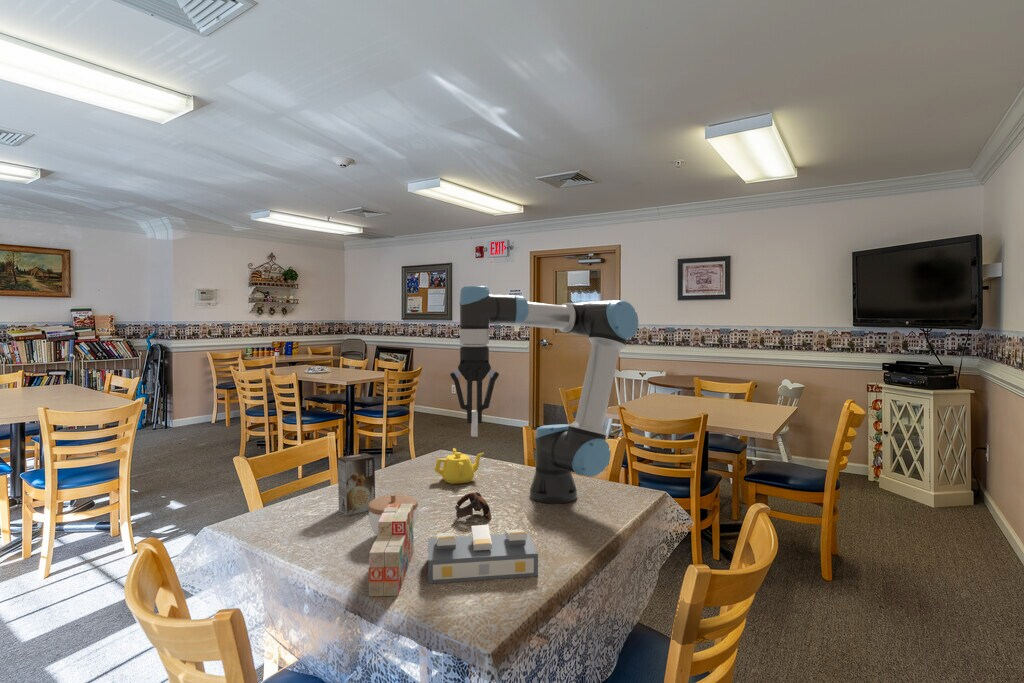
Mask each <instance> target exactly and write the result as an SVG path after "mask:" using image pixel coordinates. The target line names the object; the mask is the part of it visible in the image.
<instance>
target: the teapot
mask: <svg viewBox="0 0 1024 683" xmlns="http://www.w3.org/2000/svg"><path fill="white" fill-rule="evenodd" d="M484 454H485V452H480V453H478V454H477V455H476V457H475V462H474V463H472V461H471V459H470V457H469V455H467V454H464V453H463V454H462V452H460V451H457V448H455V447H454V448H452V454H448V455H447V456H446V457H445V458H437V459H436V462H435V466H434V471H435V472H436V473H437V474H439V475H440V476H441V477H442V479H443V481H444V482H445V483H446V484H447V483H448V484H456V485H458V484H467V483H471V482H472V481H473V479H474V477H475V473H476V472H477V471H478V470H479V466H480V459H481V456H483V455H484ZM441 463H443V465H442V468H441Z"/></svg>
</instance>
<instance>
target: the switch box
mask: <svg viewBox="0 0 1024 683" xmlns="http://www.w3.org/2000/svg"><path fill="white" fill-rule="evenodd" d="M526 533H527V540H514V541H509V540H508V539H507V538H506V537H505V533H500V534H499V533H497V534H490V536H491V542H492V550H475V551H474V548H473V540H472V535H465V536H464V535H463V536H455V538H456V545H444V546H437V537H429V538H427V565H428V566H427V584H442V583H454V582H467V581H482V580H497V579H513V578H526V577H527V578H528V577H538V576H539V553H538V551H537V548H536V546H535V544H534V543H533V542H534V541H533V540H532V537H531V535H530V533H529V532H526Z"/></svg>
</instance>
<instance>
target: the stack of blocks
mask: <svg viewBox="0 0 1024 683" xmlns="http://www.w3.org/2000/svg"><path fill="white" fill-rule="evenodd" d="M413 524H414V520H413V504H388V505H387V507H386V508H385V509H384V511H383V513H382V515H381V517H380V519H379V521H378V536H377V537H376V539H375V541H374V542H373V544H372V546H371V549H370V551H369V554H368V555H369V556H368V557H369V558H368V559H369V560H368V562H369V563H368V597H398V596H399V595H400V592H401V589H402V586H403V583H404V581H405V578H406V575H407V572H408V568H409V566H410V563H411V560H412V557H413V556H414V553H415V552H414V544H415V542H414V541H415V540H414V528H413Z"/></svg>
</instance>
